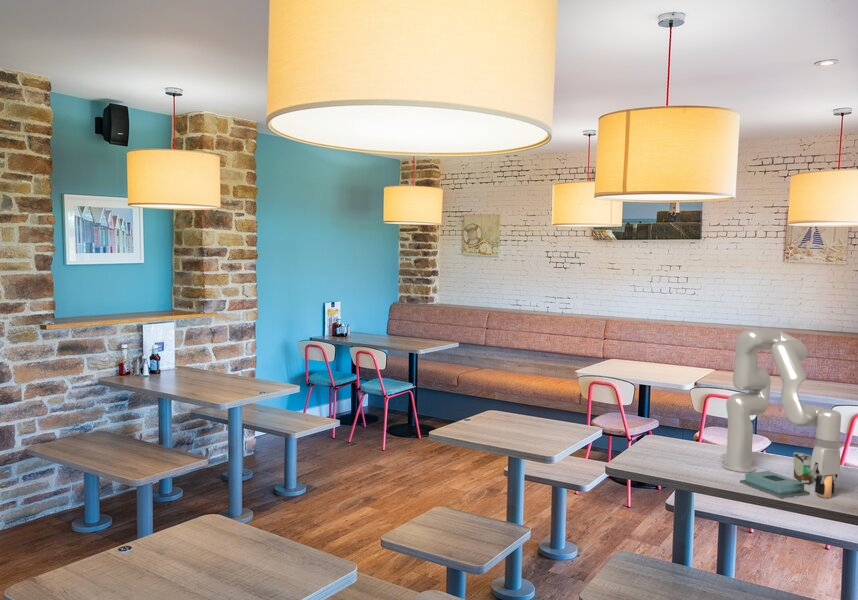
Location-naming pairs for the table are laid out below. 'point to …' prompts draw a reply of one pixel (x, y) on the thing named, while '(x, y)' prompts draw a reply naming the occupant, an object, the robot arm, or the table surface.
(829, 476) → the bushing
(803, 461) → the food container
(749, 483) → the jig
